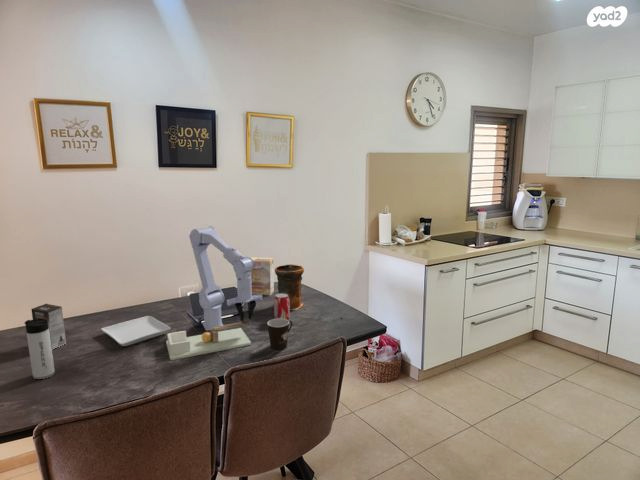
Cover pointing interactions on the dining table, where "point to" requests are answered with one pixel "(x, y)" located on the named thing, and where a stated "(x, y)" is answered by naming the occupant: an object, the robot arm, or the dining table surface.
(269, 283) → the coffeecake box
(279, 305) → the soda can
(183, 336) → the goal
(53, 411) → the dining table surface
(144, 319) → the salad plate
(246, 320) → the striker rod
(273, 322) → the coffee mug
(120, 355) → the dining table surface
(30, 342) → the travel mug
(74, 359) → the dining table surface
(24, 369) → the dining table surface
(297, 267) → the vessel
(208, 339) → the ball
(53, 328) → the coffee box
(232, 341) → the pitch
